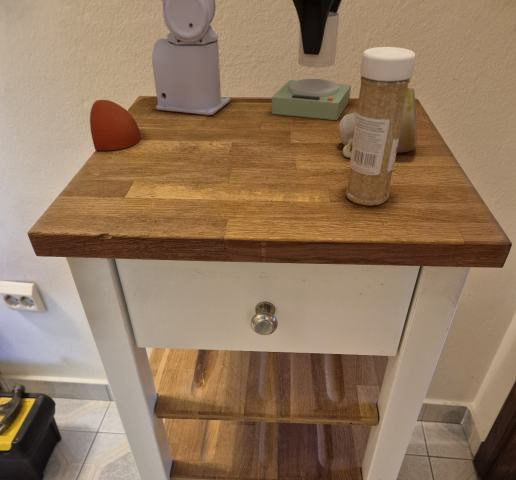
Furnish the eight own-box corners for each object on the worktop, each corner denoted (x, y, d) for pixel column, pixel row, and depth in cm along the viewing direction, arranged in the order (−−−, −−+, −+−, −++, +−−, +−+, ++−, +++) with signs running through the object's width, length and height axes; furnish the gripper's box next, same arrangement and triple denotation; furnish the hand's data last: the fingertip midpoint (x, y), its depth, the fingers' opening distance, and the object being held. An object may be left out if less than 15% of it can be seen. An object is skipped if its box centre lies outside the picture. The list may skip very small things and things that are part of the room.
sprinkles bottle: (397, 200, 49) (428, 51, 40) (365, 211, 47) (389, 58, 38) (367, 184, 52) (389, 42, 43) (335, 194, 50) (352, 49, 41)
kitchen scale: (271, 114, 71) (271, 92, 69) (289, 96, 78) (290, 75, 76) (336, 120, 68) (339, 98, 66) (349, 101, 75) (351, 80, 73)
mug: (333, 137, 64) (380, 64, 58) (391, 180, 64) (443, 110, 58) (322, 141, 57) (374, 59, 52) (386, 188, 57) (445, 111, 52)
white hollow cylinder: (293, 65, 68) (295, 15, 64) (302, 58, 72) (305, 10, 68) (330, 68, 67) (334, 17, 63) (337, 60, 71) (342, 11, 67)
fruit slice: (153, 121, 65) (130, 145, 67) (114, 80, 62) (92, 106, 64) (138, 144, 59) (114, 169, 61) (94, 100, 56) (71, 128, 58)
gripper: (345, -75, 53) (333, 62, 62) (365, -77, 63) (352, 41, 72) (285, -75, 55) (282, 59, 64) (314, -77, 65) (308, 39, 74)
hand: (316, 49), depth 68 cm, fingers closed on white hollow cylinder, 5 cm apart
